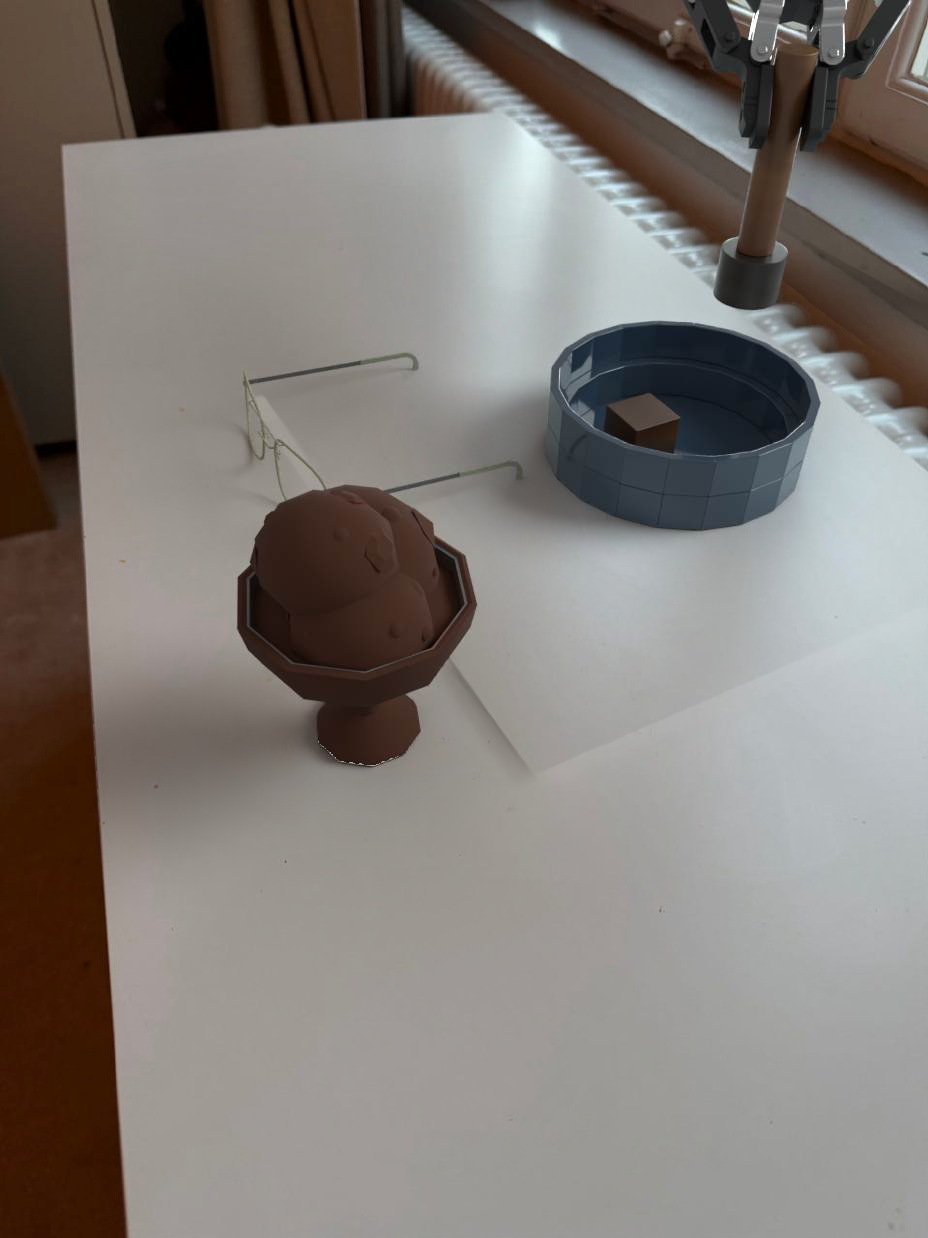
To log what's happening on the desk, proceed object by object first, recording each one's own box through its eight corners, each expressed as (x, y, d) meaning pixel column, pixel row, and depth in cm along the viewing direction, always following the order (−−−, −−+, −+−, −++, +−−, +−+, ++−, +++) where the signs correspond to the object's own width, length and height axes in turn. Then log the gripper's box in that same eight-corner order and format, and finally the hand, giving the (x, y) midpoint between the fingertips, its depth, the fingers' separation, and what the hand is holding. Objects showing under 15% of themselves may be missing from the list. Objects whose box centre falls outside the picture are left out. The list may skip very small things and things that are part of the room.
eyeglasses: (231, 425, 72) (220, 363, 68) (418, 376, 77) (416, 315, 73) (315, 553, 62) (306, 487, 58) (523, 486, 67) (526, 422, 63)
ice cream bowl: (457, 824, 47) (458, 591, 37) (231, 792, 49) (171, 559, 38) (488, 664, 55) (496, 433, 45) (292, 640, 56) (256, 410, 46)
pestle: (760, 278, 65) (814, 36, 55) (788, 306, 62) (850, 57, 52) (703, 284, 64) (747, 40, 54) (728, 313, 61) (779, 61, 52)
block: (642, 435, 70) (649, 391, 67) (672, 461, 68) (680, 417, 65) (600, 448, 69) (606, 404, 66) (630, 475, 66) (636, 430, 64)
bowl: (733, 382, 76) (749, 309, 72) (843, 519, 64) (869, 441, 60) (517, 408, 74) (520, 334, 69) (589, 556, 62) (598, 477, 57)
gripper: (695, -230, 52) (664, 101, 52) (972, -224, 51) (941, 114, 50) (677, -120, 59) (650, 169, 59) (918, -113, 58) (891, 182, 58)
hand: (784, 142), depth 55 cm, fingers closed on pestle, 2 cm apart
